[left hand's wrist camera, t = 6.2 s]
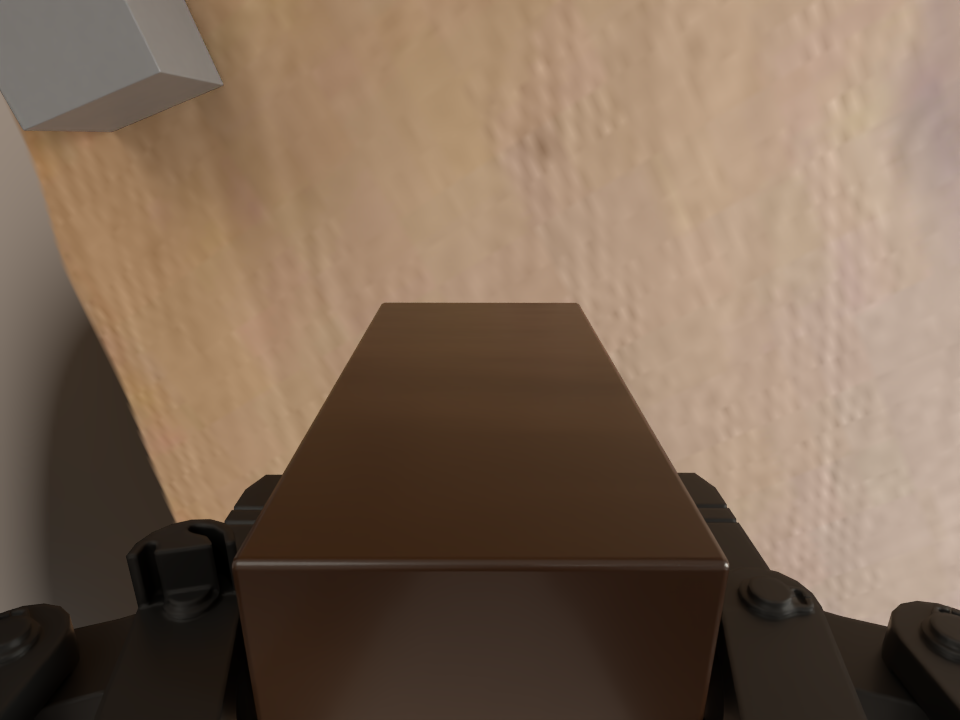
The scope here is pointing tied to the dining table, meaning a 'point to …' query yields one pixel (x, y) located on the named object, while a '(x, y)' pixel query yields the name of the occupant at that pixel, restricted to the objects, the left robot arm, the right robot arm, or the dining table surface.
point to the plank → (480, 536)
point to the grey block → (99, 61)
